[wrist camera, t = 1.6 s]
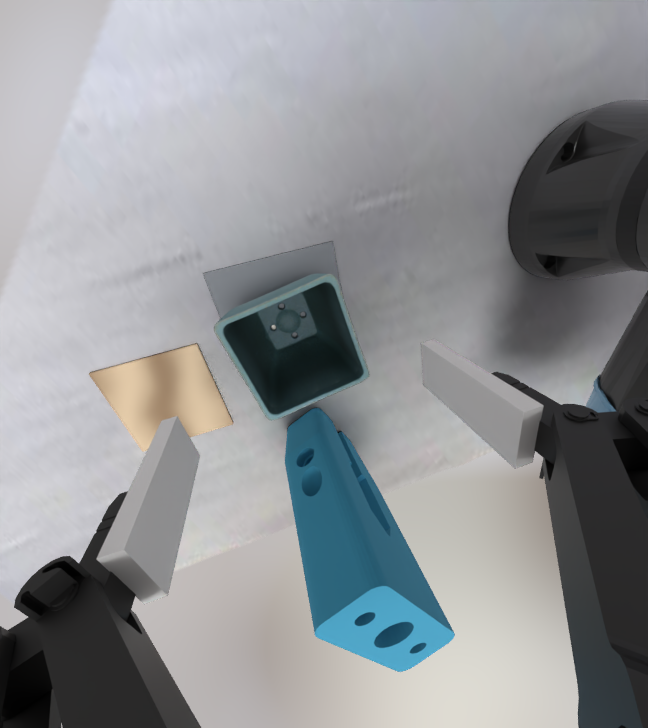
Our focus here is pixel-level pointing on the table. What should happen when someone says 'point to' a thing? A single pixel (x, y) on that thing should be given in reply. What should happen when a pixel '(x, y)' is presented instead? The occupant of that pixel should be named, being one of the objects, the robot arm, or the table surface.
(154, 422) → the cork mat
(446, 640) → the block
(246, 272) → the tile
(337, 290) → the flower pot
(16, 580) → the table surface
